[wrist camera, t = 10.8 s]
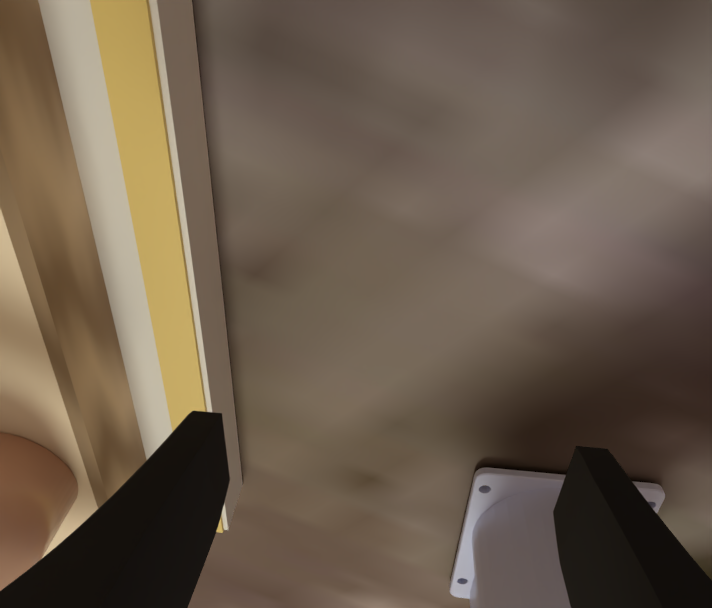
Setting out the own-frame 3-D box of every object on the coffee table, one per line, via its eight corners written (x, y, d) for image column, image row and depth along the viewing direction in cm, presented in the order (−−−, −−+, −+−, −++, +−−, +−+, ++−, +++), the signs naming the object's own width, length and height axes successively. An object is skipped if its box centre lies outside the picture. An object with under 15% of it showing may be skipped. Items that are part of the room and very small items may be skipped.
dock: (242, 483, 27) (227, 533, 25) (19, 461, 28) (-16, 507, 26) (162, -281, 13) (109, -324, 11) (-293, -293, 14) (-432, -336, 11)
